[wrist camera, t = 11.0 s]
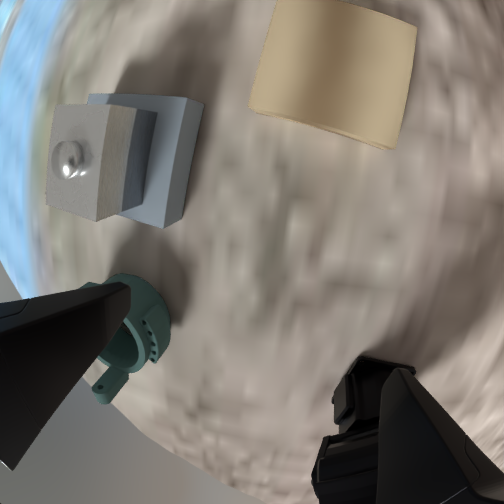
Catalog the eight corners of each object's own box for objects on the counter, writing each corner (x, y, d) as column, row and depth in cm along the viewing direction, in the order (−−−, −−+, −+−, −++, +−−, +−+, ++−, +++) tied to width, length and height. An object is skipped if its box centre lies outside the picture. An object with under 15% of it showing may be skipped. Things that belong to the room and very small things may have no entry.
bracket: (143, 355, 28) (101, 408, 20) (90, 292, 27) (36, 334, 19) (194, 325, 25) (151, 390, 17) (131, 249, 24) (65, 291, 16)
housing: (157, 112, 16) (101, 103, 11) (142, 204, 19) (86, 225, 13) (104, 108, 17) (46, 104, 12) (92, 190, 19) (37, 206, 14)
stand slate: (204, 104, 18) (187, 97, 16) (181, 218, 22) (163, 228, 19) (111, 97, 19) (89, 93, 17) (97, 195, 23) (75, 201, 20)
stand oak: (405, 41, 14) (417, 27, 11) (383, 149, 17) (395, 149, 14) (285, 9, 15) (280, -11, 12) (257, 113, 18) (247, 106, 15)
